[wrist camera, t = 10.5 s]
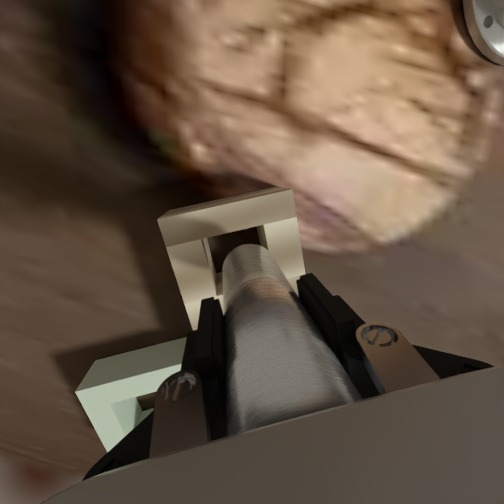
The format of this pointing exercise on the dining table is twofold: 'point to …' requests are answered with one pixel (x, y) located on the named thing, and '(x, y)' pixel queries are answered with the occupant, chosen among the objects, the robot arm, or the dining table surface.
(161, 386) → the robot arm
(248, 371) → the steel rod
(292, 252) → the socket block
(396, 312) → the dining table surface
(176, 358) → the block
